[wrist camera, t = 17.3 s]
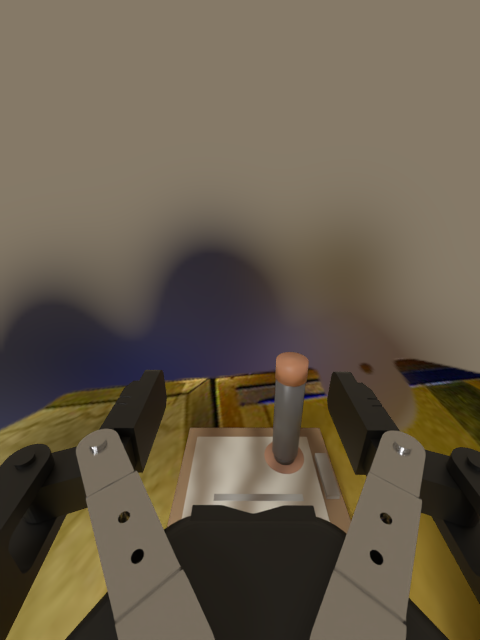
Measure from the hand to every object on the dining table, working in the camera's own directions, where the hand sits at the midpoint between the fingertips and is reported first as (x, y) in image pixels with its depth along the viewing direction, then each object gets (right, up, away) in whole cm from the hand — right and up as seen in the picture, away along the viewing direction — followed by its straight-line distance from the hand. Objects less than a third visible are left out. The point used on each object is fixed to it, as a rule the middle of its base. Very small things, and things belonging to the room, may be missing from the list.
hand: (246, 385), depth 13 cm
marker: (+6, -16, +26) cm, 31 cm away
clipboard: (+2, -19, +24) cm, 30 cm away
